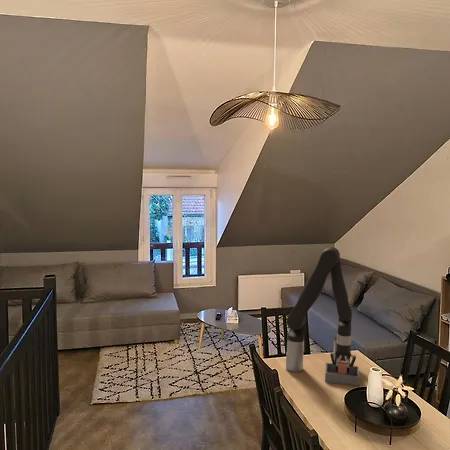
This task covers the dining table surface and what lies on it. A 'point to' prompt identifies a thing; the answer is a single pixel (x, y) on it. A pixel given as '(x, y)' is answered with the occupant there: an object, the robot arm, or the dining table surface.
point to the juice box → (342, 368)
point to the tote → (348, 379)
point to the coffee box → (335, 349)
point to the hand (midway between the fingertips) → (342, 372)
